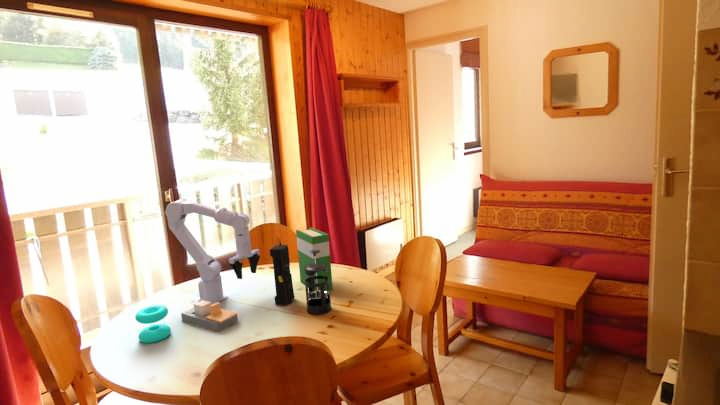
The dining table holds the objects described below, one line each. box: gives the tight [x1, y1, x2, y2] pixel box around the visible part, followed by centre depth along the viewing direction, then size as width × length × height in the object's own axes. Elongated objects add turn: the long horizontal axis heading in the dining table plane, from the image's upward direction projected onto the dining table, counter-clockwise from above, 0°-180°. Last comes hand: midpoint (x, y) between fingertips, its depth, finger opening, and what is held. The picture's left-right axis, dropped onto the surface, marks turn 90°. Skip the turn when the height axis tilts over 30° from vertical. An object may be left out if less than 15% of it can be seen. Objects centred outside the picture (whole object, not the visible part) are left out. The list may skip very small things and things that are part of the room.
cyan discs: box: [135, 304, 172, 344], centre depth 145 cm, size 10×10×10 cm
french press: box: [304, 250, 333, 316], centre depth 159 cm, size 12×9×23 cm
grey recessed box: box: [180, 307, 239, 332], centre depth 156 cm, size 20×9×3 cm, turn 58°
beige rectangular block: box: [193, 300, 212, 317], centre depth 158 cm, size 5×4×6 cm
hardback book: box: [295, 227, 333, 291], centre depth 184 cm, size 18×7×24 cm, turn 30°
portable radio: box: [269, 238, 296, 306], centre depth 168 cm, size 8×6×25 cm
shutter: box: [206, 301, 239, 323], centre depth 152 cm, size 8×8×4 cm
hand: (246, 275), depth 176 cm, fingers open, 7 cm apart
